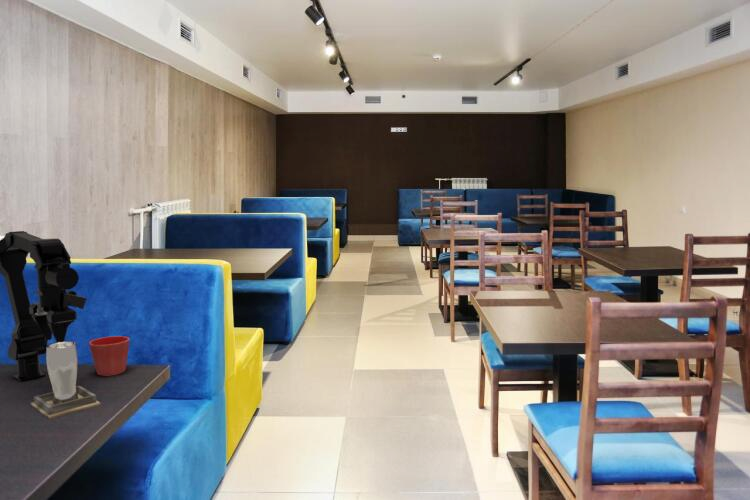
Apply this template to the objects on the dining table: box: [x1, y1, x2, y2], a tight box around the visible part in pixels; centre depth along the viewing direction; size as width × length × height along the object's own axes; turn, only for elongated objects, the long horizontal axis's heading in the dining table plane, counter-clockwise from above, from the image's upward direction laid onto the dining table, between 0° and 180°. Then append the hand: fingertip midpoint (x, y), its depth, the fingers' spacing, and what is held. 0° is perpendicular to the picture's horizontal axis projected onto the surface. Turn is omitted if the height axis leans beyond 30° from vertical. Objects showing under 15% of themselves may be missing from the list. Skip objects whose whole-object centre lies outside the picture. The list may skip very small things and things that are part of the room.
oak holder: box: [30, 385, 102, 420], centre depth 152 cm, size 14×12×2 cm
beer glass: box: [45, 341, 79, 405], centre depth 151 cm, size 7×7×15 cm
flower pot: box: [88, 335, 130, 377], centre depth 177 cm, size 11×11×10 cm
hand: (54, 342), depth 162 cm, fingers open, 9 cm apart
